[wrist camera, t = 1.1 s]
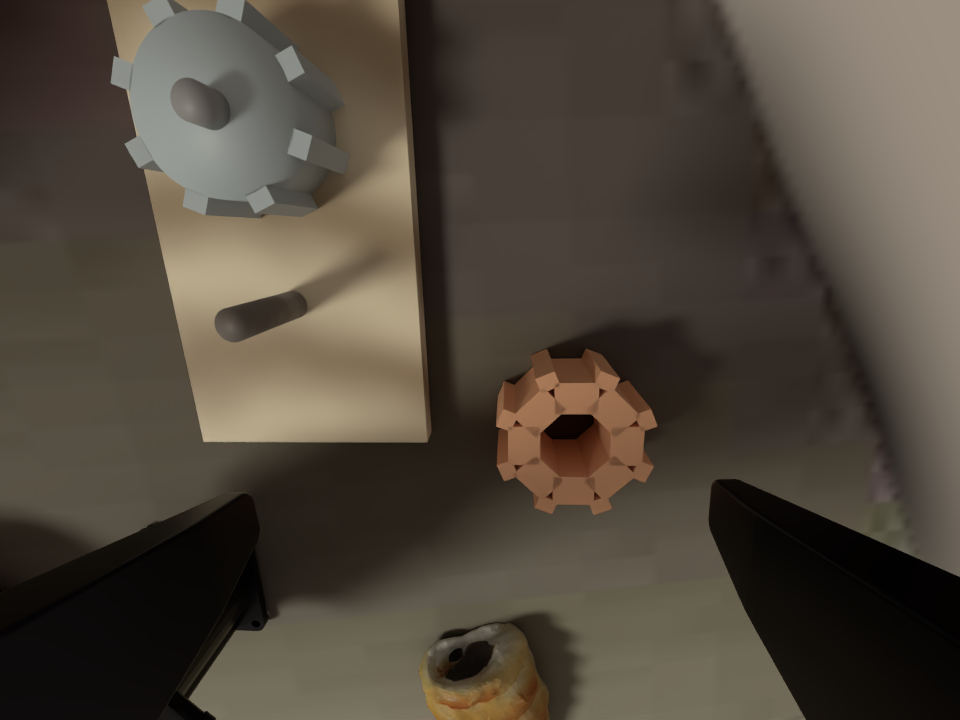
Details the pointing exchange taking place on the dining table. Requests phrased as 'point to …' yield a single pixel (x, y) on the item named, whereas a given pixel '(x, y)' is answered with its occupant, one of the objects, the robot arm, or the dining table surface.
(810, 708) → the robot arm
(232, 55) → the gear
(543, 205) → the dining table surface
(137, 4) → the gear board
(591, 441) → the gear
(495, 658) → the pastry
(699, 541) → the dining table surface
